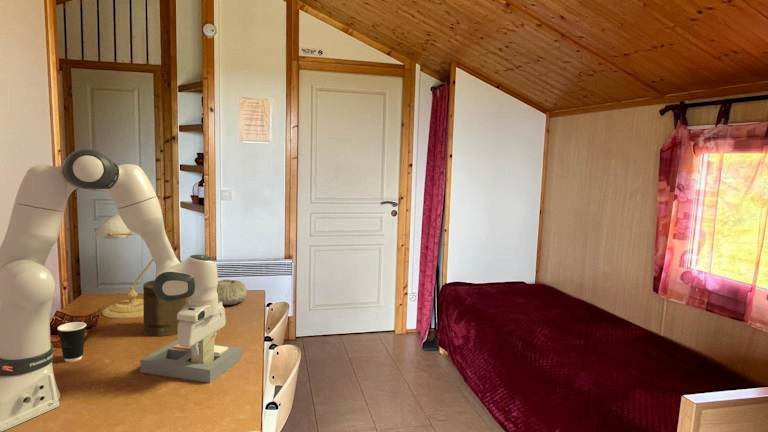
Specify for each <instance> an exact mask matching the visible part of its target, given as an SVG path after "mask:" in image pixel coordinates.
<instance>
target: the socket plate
mask: <svg viewBox="0 0 768 432" xmlns="http://www.w3.org/2000/svg"><path fill="white" fill-rule="evenodd" d="M241 360H242V347H241V346H234V345H233V346H231V345H224V344H218V343H217V344H216V343H214V361H213V362H212V363H210V364H209V365H208V364H201V363H194V362H191V347H182V346H180V345H179V343H178V338H177V339H175V340H173V341H172V342H169V343H168V344H166V345H165V346H162V347H161V348H159V349H158V350H156V351H154V352H152V353H150V354H148V355H147V356H145V357H143V358H141V359H139V362H140V364H139V366H140V369H139V370H140V373H144V374H149V375H157V376H163V377H169V378H175V379H180V380H181V379H182V380H188V381H196V382H202V383H207V384H211V383H212V382H213V381H215V380H216V379H217V378H219V377H220V376H221V375H223V374H224V373H225V372H226V371H228V370H230V368H232V367H233V366H235V364H237V363H239V361H241Z"/></svg>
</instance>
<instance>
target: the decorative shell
mask: <svg viewBox="0 0 768 432" xmlns="http://www.w3.org/2000/svg"><path fill="white" fill-rule="evenodd" d="M247 293H248V288H246V285H245V283H242V282H241V281H240V280H237V279H222V280H218V285H217V294H218V300H220V301H221V302H222V303H223V305H224V306H233V305H237V304H238V303H241V302H243V300H244V299H246V296H247Z"/></svg>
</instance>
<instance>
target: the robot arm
mask: <svg viewBox="0 0 768 432" xmlns="http://www.w3.org/2000/svg"><path fill="white" fill-rule="evenodd" d="M76 190H83V191H92V190H104V191H105V192H107V193H108V195H109V196H110V198H111V199H112V201H113V204H114V206H115V208H116V211H117V213H118V215H120V217H121V219H122V221H123V222H124V224H125V225H126V226H127V228H128V229H129V230H130V231H132V232H134V234H136V235H138V236H139V237H141V238H142V240H143V241H144V242H145V244H146V246H147V248H148V251H149V253H150V255H151V257H152V259H154V261H153V262H154V263H155V277H154V279H153V280H154V283H153V290H154V293H155V294H156V296H157V297H158V298H160V299H161V300H164V301H175V300H180V299H184V298H186V299H187V302H186V305H185V306H184V307H183V308H182V309H181V310H180V311H179V312H178V314H177V319H178V320H180V321H179V323H178V333H177V339H178V343H179V345H180V346H182V347H191V349H192V351H193V355H194V356H198V355H199V354H200V353H201V352H200V349H199V348H198V346H197V345H199V341H201V340H203V339H204V338H205V337H207V336H208V335H210V334H212V333H214V341H215V340H216V337H217V335H218V332H217V331H219V330H221V329H222V328H224V327H225V326H226V323H227V320H226V310H225V307H224V306H223V305H224V304H223V303H222V302H221V301H220V300H218V294H217V285H218V281H219V280H218V279H219V277H218V276H219V275H218V266H217V263H216V261H215V259H214V258H212V257H211V256H208V255H205V254H193V255H190V256H189V257H187V258H185V260H183V261H182V260H181V259H180V258H179V257H178V256H177V255H176V252H175V250H174V248H173V246H172V244H171V242H170V239H169V237H168V235H167V233H166V229H165V222H164V217H163V215H164V214H163V211H162V207H161V204H160V199H159V198H158V196H157V194H156V190H155V189H154V187H153V184H152V182H151V181H150V179H149V177H148V176H147V174H146V173H145V172H144V170H143V168H141V167H140V166H139V165H137V164H133V163H125V164H119V165H117V164H116V163H115V162H114V161H113V160H111V159H110V158H109V157H107V156H106V155H105V154H103V153H102V152H100V151H98V150H96V149H93V148H82V149H77V150H74V151H73V152H71V153H70V154H69V155H68V156H67V157H66V158H65V160H64V161H63V162H62V163H61V164H60V165H58V166H54V165H53V166H52V165H46V164H40V165H34V166H32V167H29V168H28V170H27V171H26V172H25V174H24V176H23V178H22V181H21V183H20V185H19V188H18V190H17V193H16V196H15V200H14V203H13V206H12V210H11V212H10V218H9V221H8V226H7V230H6V232H5V235H4V238H3V240H2V242H1V244H0V432H4V431H7V430H8V429H11V428H14V427H16V426H18V425H20V424H22V423H25V422H27V421H29V420H31V419H33V418H36V417H39V416H40V415H42V414H45V413H48V412H49V411H51V410H54V409H56V408H58V407H59V406H60V401H59V400H60V398H61V392H60V391H59V387H58V385H57V382H56V378H55V372H54V369H53V361H54V351H53V348H54V347H53V346H52V345H51V342H52V341H51V323H50V321H51V320H50V319H51V310H52V305H53V304H52V303H53V296H54V293H55V290H56V289H55V288H56V284H55V279H54V276H53V274H52V271H50V270H49V269H48V268H47V267H45V266H46V261H47V259H48V257H49V255H50V253H51V250H52V249H53V247H54V245H55V244H56V243H57V241H58V239H59V235H60V231H61V229H62V228H61V227H62V224H63V221H64V216H65V212H66V207H67V202H68V200H69V197H70V195H71V194H72V192H73V191H76ZM132 232H131V233H132Z"/></svg>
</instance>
